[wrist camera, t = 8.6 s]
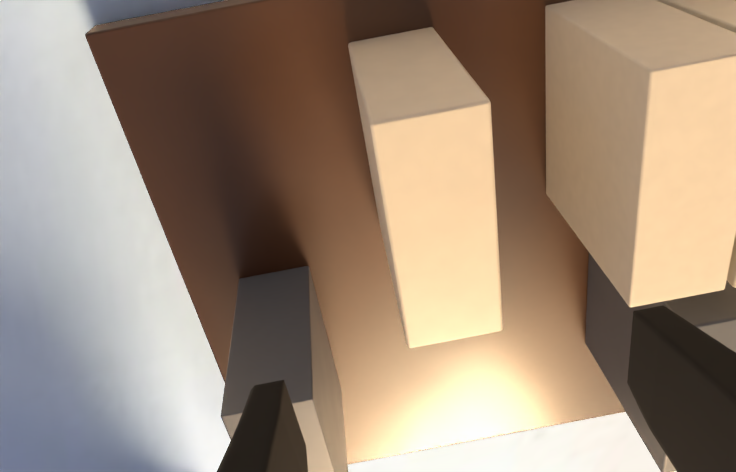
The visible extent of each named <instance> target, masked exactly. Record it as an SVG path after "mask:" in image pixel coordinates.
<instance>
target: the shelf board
mask: <svg viewBox="0 0 736 472" xmlns="http://www.w3.org/2000/svg"><path fill="white" fill-rule="evenodd" d="M567 1H572V0H225V1H220V2H215V3H210V4H205V5H199V6H194V7H189V8H184V9H178V10H173V11H168V12H163V13H157V14H152V15H147V16H142V17H136V18H131V19H126V20H121V21H115V22H110V23H105V24H100V25H96V26H94V27H93V28H92V29H91V30H90V31H88V32H87V33H86V34H85V36H86V39H87V41H88V44H89V46H90V49H91V51H92V54H93V56H94V59H95V61H96V64H97V66H98V69H99V71H100V74H101V76H102V79H103V81H104V84H105V86H106V89H107V91H108V94H109V96H110V99H111V101H112V103H113V106H114V108H115V111H116V113H117V116H118V118H119V121H120V123H121V126H122V128H123V131H124V133H125V136H126V138H127V141H128V143H129V146H130V148H131V151H132V153H133V156H134V158H135V161H136V163H137V166H138V168H139V170H140V173H141V175H142V178H143V180H144V183H145V185H146V188H147V190H148V193H149V195H150V198H151V200H152V203H153V205H154V208H155V210H156V213H157V215H158V218H159V220H160V223H161V225H162V228H163V230H164V233H165V235H166V238H167V240H168V242H169V245H170V247H171V250H172V252H173V255H174V257H175V260H176V262H177V265H178V267H179V270H180V272H181V275H182V277H183V280H184V282H185V285H186V287H187V290H188V292H189V295H190V297H191V300H192V302H193V305H194V307H195V309H196V312H197V314H198V317H199V319H200V322H201V324H202V327H203V329H204V332H205V334H206V337H207V339H208V342H209V344H210V347H211V349H212V352H213V354H214V357H215V359H216V362H217V364H218V367H219V369H220V372H221V374H222V376H223V379H224V381H226V373H227V366H228V358H229V351H230V344H231V336H232V329H233V321H234V314H235V306H236V299H237V291H238V284H239V279H241V278H246V277H251V276H256V275H262V274H267V273H272V272H278V271H283V270H288V269H293V268H299V267H304V266H309V268H310V272H311V276H312V280H313V284H314V288H315V291H316V295H317V299H318V303H319V307H320V311H321V314H322V318H323V322H324V326H325V330H326V333H327V337H328V341H329V345H330V349H331V353H332V356H333V360H334V364H335V368H336V372H337V376H338V379H339V383H340V387H341V394H342V406H343V418H344V430H345V442H346V454H347V464H352V463H357V462H362V461H367V460H373V459H378V458H383V457H389V456H394V455H399V454H404V453H410V452H415V451H420V450H426V449H431V448H436V447H441V446H447V445H452V444H457V443H462V442H468V441H473V440H478V439H484V438H489V437H494V436H499V435H505V434H510V433H515V432H520V431H526V430H531V429H536V428H542V427H547V426H552V425H557V424H563V423H568V422H573V421H578V420H584V419H589V418H594V417H600V416H605V415H610V414H615V413H621V412H626V411H625V409H624V408H623V406H622V404H621V403H620V401H619V399H618V398H617V396H616V394H615V393H614V391H613V389H612V387H611V386H610V384H609V382H608V381H607V379H606V377H605V376H604V374H603V372H602V371H601V369H600V367H599V365H598V364H597V362H596V360H595V359H594V357H593V355H592V354H591V352H590V350H589V348H588V347H587V345H586V343H585V337H586V312H587V288H588V263H589V251H588V250H587V249H586V247H585V246H584V245H583V243H582V242H581V240H580V239H579V238H578V236H577V235H576V234H575V232H574V231H573V230H572V228H571V227H570V225H569V224H568V223H567V221H566V220H565V219H564V217H563V216H562V215H561V213H560V212H559V210H558V209H557V208H556V206H555V205H554V204H553V202H552V201H551V200H550V198H549V197H548V196H547V194H546V54H545V7H546V6H547V5H551V4H556V3H562V2H567ZM428 27H432V28H434V30H435V31H436V32H437V34H438V35H439V36H440V37H441V39H442V40H443V41H444V43H445V44H446V45H447V46H448V48H449V49H450V50H451V51H452V53H453V54H454V55H455V57H456V58H457V59H458V60H459V62H460V63H461V64H462V66H463V67H464V68H465V69H466V71H467V72H468V73H469V74H470V76H471V77H472V78H473V80H474V81H475V82H476V83H477V85H478V86H479V87H480V89H481V90H482V91H483V92H484V94H485V95H486V96H487V97H488V99H489V100H490V102H491V119H492V137H493V155H494V173H495V191H496V209H497V227H498V245H499V263H500V282H501V300H502V318H503V329H502V330H501V331H498V332H493V333H488V334H482V335H477V336H472V337H467V338H461V339H456V340H451V341H446V342H440V343H435V344H430V345H425V346H419V347H414V348H409V347H408V346H407V343H406V339H405V335H404V330H403V326H402V321H401V317H400V312H399V308H398V303H397V299H396V295H395V290H394V286H393V281H392V277H391V272H390V268H389V263H388V259H387V255H386V250H385V246H384V241H383V237H382V232H381V228H380V223H379V218H378V212H377V206H376V201H375V195H374V189H373V184H372V178H371V172H370V167H369V161H368V155H367V150H366V144H365V139H364V133H363V127H362V122H361V116H360V110H359V105H358V99H357V93H356V88H355V82H354V76H353V71H352V65H351V59H350V54H349V48H348V45H349V43H350V42H355V41H360V40H365V39H370V38H376V37H381V36H386V35H391V34H397V33H402V32H407V31H412V30H418V29H423V28H428Z"/></svg>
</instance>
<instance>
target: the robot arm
mask: <svg viewBox="0 0 736 472" xmlns="http://www.w3.org/2000/svg"><path fill="white" fill-rule="evenodd" d="M627 383H628V385H629V388H630V390H631V392H632V394H633V396H634V398H635V400H636V403H637V405H638V407H639V409H640V411H641V413H642V415H643V417H644V419H645V421H646V423H647V425H648V427H649V429H650V430H651V432H652V433H653V435H654V437H655V438H656V440H657V441H658V443H659V444H660V446H661V448H662V449H663V451H664V452H665V454H666V455H667V457H668V458H669V460H670V462H671V463H672V465H673V466H674V468H675V469H676V471H677V472H736V352H734V351H733V350H731V349H729V348H728V347H726V346H725V345H723V344H722V343H720V342H719V341H717V340H716V339H714V338H713V337H711V336H709V335H708V334H706V333H705V332H703V331H702V330H700V329H699V328H697V327H696V326H694V325H693V324H691V323H690V322H688V321H687V320H685V319H684V318H682V317H681V316H679V315H678V314H676V313H674V312H673V311H671V310H670V309H668V308H667V307H665V306H663V305H662V306H657V307H652V308H646V309H641V310H636V311H633V321H632V333H631V344H630V356H629V368H628V380H627ZM217 472H308V464H307V451H306V444H305V441H304V438H303V435H302V432H301V429H300V426H299V423H298V420H297V417H296V414H295V411H294V408H293V405H292V402H291V399H290V396H289V393H288V390H287V387H286V384H285V381H284V380H279V381H274V382H269V383H264V384H259V385H254V387H253V388H252V389H251V391H250V393H249V396H248V399H247V402H246V405H245V407H244V410H243V412H242V415H241V418H240V420H239V423H238V425H237V428H236V430H235V432H234V435H233V437H232V439H231V442H230V444H229V447H228V449H227V451H226V453H225V455H224V457H223V460H222V462H221V464H220V466H219V468H218V470H217Z"/></svg>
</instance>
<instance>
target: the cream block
mask: <svg viewBox="0 0 736 472" xmlns="http://www.w3.org/2000/svg"><path fill="white" fill-rule="evenodd" d="M545 54H546V194H547V196H548V197H549V198H550V200H551V201H552V202H553V204H554V205H555V206H556V208H557V209H558V210H559V212H560V213H561V215H562V216H563V217H564V219H565V220H566V221H567V223H568V224H569V225H570V227H571V228H572V230H573V231H574V232H575V234H576V235H577V236H578V238H579V239H580V240H581V242H582V243H583V245H584V246H585V247H586V249H587V250H588V251H589V253H590V254H591V255H592V257H593V258H594V260H595V261H596V262H597V264H598V265H599V266H600V268H601V269H602V270H603V272H604V273H605V275H606V276H607V277H608V279H609V280H610V281H611V283H612V284H613V285H614V287H615V288H616V290H617V291H618V292H619V294H620V295H621V296H622V298H623V299H624V300H625V302H626V303H627V305H628V306H629V307H636V306H641V305H646V304H652V303H657V302H662V301H667V300H673V299H678V298H683V297H689V296H694V295H699V294H704V293H710V292H715V291H720V290H724V289H725V285H726V280H727V281H728V282H729V283H730V284H731V285H732V286H733V287H735V288H736V0H572V1H567V2H562V3H556V4H551V5H547V6H546V7H545Z"/></svg>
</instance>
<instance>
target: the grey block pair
mask: <svg viewBox="0 0 736 472" xmlns="http://www.w3.org/2000/svg"><path fill="white" fill-rule="evenodd" d="M662 305H663V306H665V307H667V308H668V309H670V310H671V311H673V312H674V313H676V314H678V315H679V316H681V317H682V318H684V319H685V320H687V321H688V322H690V323H691V324H693V325H694V326H696V327H697V328H699V329H700V330H702V331H703V332H705V333H706V334H708V335H709V336H711V337H713V338H714V339H716V340H717V341H719V342H720V343H722V344H723V345H725V346H726V347H728V348H729V349H731V350H733V351H734V352H736V288H735V287H733V286H732V285H731V284H730V283H729V282H728V281H727V280H726V285H725V289H724V290H720V291H715V292H710V293H704V294H699V295H694V296H689V297H683V298H678V299H673V300H667V301H662V302H657V303H652V304H646V305H641V306H636V307H629V306H628V305H627V303H626V302H625V300H624V299H623V298H622V296H621V295H620V294H619V292H618V291H617V290H616V288H615V287H614V285H613V284H612V283H611V281H610V280H609V279H608V277H607V276H606V275H605V273H604V272H603V270H602V269H601V268H600V266H599V265H598V264H597V262H596V261H595V260H594V258H593V257H592V255H591V254H590V253H589V263H588V288H587V312H586V337H585V343H586V345H587V347H588V348H589V350H590V352H591V354H592V355H593V357H594V359H595V360H596V362H597V364H598V365H599V367H600V369H601V371H602V372H603V374H604V376H605V377H606V379H607V381H608V382H609V384H610V386H611V387H612V389H613V391H614V393H615V394H616V396H617V398H618V399H619V401H620V403H621V404H622V406H623V408H624V409H625V411H626V413H627V415H628V416H629V418H630V420H631V421H632V423H633V425H634V426H635V428H636V430H637V432H638V433H639V435H640V437H641V438H642V440H643V442H644V443H645V445H646V447H647V448H648V450H649V452H650V454H651V455H652V457H653V459H654V460H655V462H656V464H657V465H658V467H659V469H660V471H661V472H674V471H676V469H675V468H674V466H673V465H672V463H671V462H670V460H669V458H668V457H667V455H666V454H665V452H664V451H663V449H662V448H661V446H660V444H659V443H658V441H657V440H656V438H655V437H654V435H653V433H652V432H651V430H650V429H649V427H648V425H647V423H646V421H645V419H644V417H643V415H642V413H641V411H640V409H639V407H638V405H637V403H636V400H635V398H634V396H633V394H632V392H631V390H630V388H629V385H628V383H627V380H628V368H629V356H630V344H631V333H632V321H633V311H636V310H641V309H646V308H652V307H657V306H662ZM279 380H284V381H285V384H286V387H287V390H288V393H289V396H290V399H291V402H292V405H293V408H294V411H295V414H296V417H297V420H298V423H299V426H300V429H301V432H302V435H303V438H304V441H305V444H306V451H307V464H308V472H348V466H347V454H346V442H345V430H344V418H343V406H342V394H341V387H340V383H339V379H338V376H337V372H336V368H335V364H334V360H333V356H332V353H331V349H330V345H329V341H328V337H327V333H326V330H325V326H324V322H323V318H322V314H321V311H320V307H319V303H318V299H317V295H316V291H315V288H314V284H313V280H312V276H311V272H310V268H309V266H304V267H299V268H293V269H288V270H283V271H278V272H272V273H267V274H262V275H256V276H251V277H246V278H241V279H239V284H238V291H237V299H236V306H235V314H234V321H233V329H232V336H231V344H230V351H229V358H228V366H227V373H226V381H225V388H224V396H223V403H222V411H221V418H222V420H223V422H224V425H225V427H226V429H227V432H228V434H229V436H230V439H232V437H233V435H234V432H235V430H236V428H237V425H238V423H239V420H240V418H241V415H242V412H243V410H244V407H245V405H246V402H247V399H248V396H249V393H250V391H251V389H252V388H253V387H254V385H259V384H264V383H269V382H274V381H279Z"/></svg>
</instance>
